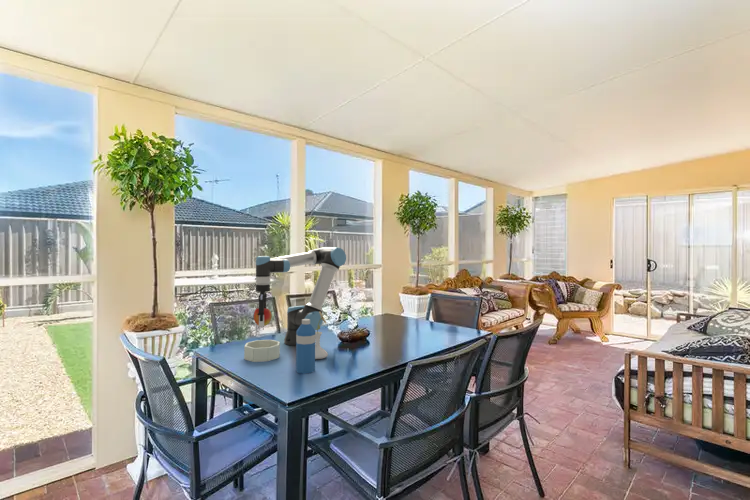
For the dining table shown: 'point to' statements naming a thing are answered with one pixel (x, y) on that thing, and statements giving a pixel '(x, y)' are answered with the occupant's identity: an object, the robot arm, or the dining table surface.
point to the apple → (266, 316)
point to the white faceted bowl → (262, 350)
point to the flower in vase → (319, 351)
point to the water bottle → (305, 348)
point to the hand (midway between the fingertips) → (262, 324)
